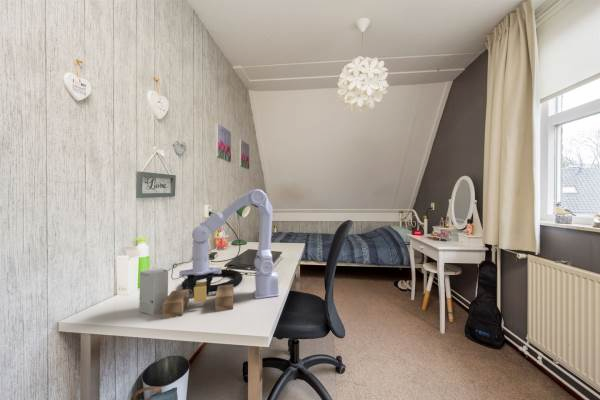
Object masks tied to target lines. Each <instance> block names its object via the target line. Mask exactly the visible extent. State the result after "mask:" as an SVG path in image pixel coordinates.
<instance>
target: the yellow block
mask: <svg viewBox="0 0 600 400" xmlns="http://www.w3.org/2000/svg"><path fill="white" fill-rule="evenodd" d="M206 289H207V282H206V281H198V282H197V281H196V285H195V287H194V298H193V299H194V300H193V301H194V302H193V303H194V304H196V303H200V302H207V298H208V297H206Z"/></svg>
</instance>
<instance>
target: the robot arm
mask: <svg viewBox="0 0 600 400" xmlns="http://www.w3.org/2000/svg"><path fill="white" fill-rule="evenodd" d="M268 197H269V196H268V194H267V193H265V192H264V191H263V190H262V189H259V188H256V189H255V188H254V189H251V190H247V192H246V193H244V194H241V195H240V196H239V197H237V198H236V199H235V200H234V201H233V202H231V203H230V205H228V206H227V207H226V208H224V210H222V211H221V212H214V213H211V214H209V217H208V218H207V219H205V220H204V221H203V222H202V221H201V222H199V226H196V227H195V228H194V229H193V230H192V233H191V235H192V236H191V237H192V239H193V240H192V251H191V252H192V268H191V269H190V268H189V269H184V270H180V271H179V278H183V277H187V281H188V282H189V284H190V286H191V288H192V291H193V296H194V287H195V285H196V283H197V281H196V275H207V276H206V278H205V280H206V282H207V289H206V295H207V294H209V288H210V285H212V281H213V278H214V274H221V269H222V267H210V247H209V238H210V237H211V236H210V235H213V234H214V233H216V232H217V231H218V230H219V229H221V228H222V227H223V226H224V225H226V222H227V219H228V218H229V217H230V216H232V215H233V214H235V213H236V212H237V211H238V210H240V209H241V208H242V207H247V206H250V205H251V206H252V207H254V208H255V209H257V211H259V213H260V214H259V215H260V216H259V232H258V249H257V251H256V255H255V256H256V257H255V258H254V261H253V265H254V267H255V268H256V270H255V271H254V272H255V273H254V278H255V280H254V281H255V290H254V291H253V292H254V297H255V298H254V299H257V300H258V299H264V298H265V299H266V298H273V297H279V296H280V295H279V276H278V272H277V271H274V269H275V264H274V262H273V254H272V251H271V247H272V230H273V228H272V227H273V213H274V212H273V211H274V208H273V206H272V204H271V202H270V200H269V198H268Z"/></svg>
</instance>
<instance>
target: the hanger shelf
mask: <svg viewBox="0 0 600 400" xmlns="http://www.w3.org/2000/svg"><path fill="white" fill-rule="evenodd" d="M234 289H235V288H233V284H231V285H222V286H218V288H217V291H214V292H209V294H207V295H206V297H207V298H208V297H215V298H214V301H215V302H214V305H215V306H214V307H215V312H222V311H228V310H233V309H234V300H235V299H234V297H235V296H234V295H235V294H234V293H235V291H234ZM192 299H194V296H193V294H189V289H186V290H183V289H178V290H172V291H171V292H170V293H169V294H168V297H167V299H166V300H165V301H164V303H163V304H162V306H163V311H162V319H163V318H164V319H169V318H170V317H171V318H176V316H179V317H182V316H183V315H184V313H185V311H186V309H187V307H188V305H189V303H190V300H192ZM171 318H170V319H171Z"/></svg>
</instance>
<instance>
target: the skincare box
mask: <svg viewBox="0 0 600 400" xmlns="http://www.w3.org/2000/svg"><path fill="white" fill-rule="evenodd" d="M168 296H169V270H167V269H164V268H162V267H161V268H159V267H150V268H148V269H143V270H140V271H139V304H138V305H139V308H138V309H139V310H138V311H139V312H141V313H143V314H144V313H145V314H148V315H150V316H155V315H157V313H158V314H160V313H163V306H162V304H163V303H164V301H165V300H166V299H167V297H168ZM159 312H160V313H159Z"/></svg>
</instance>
